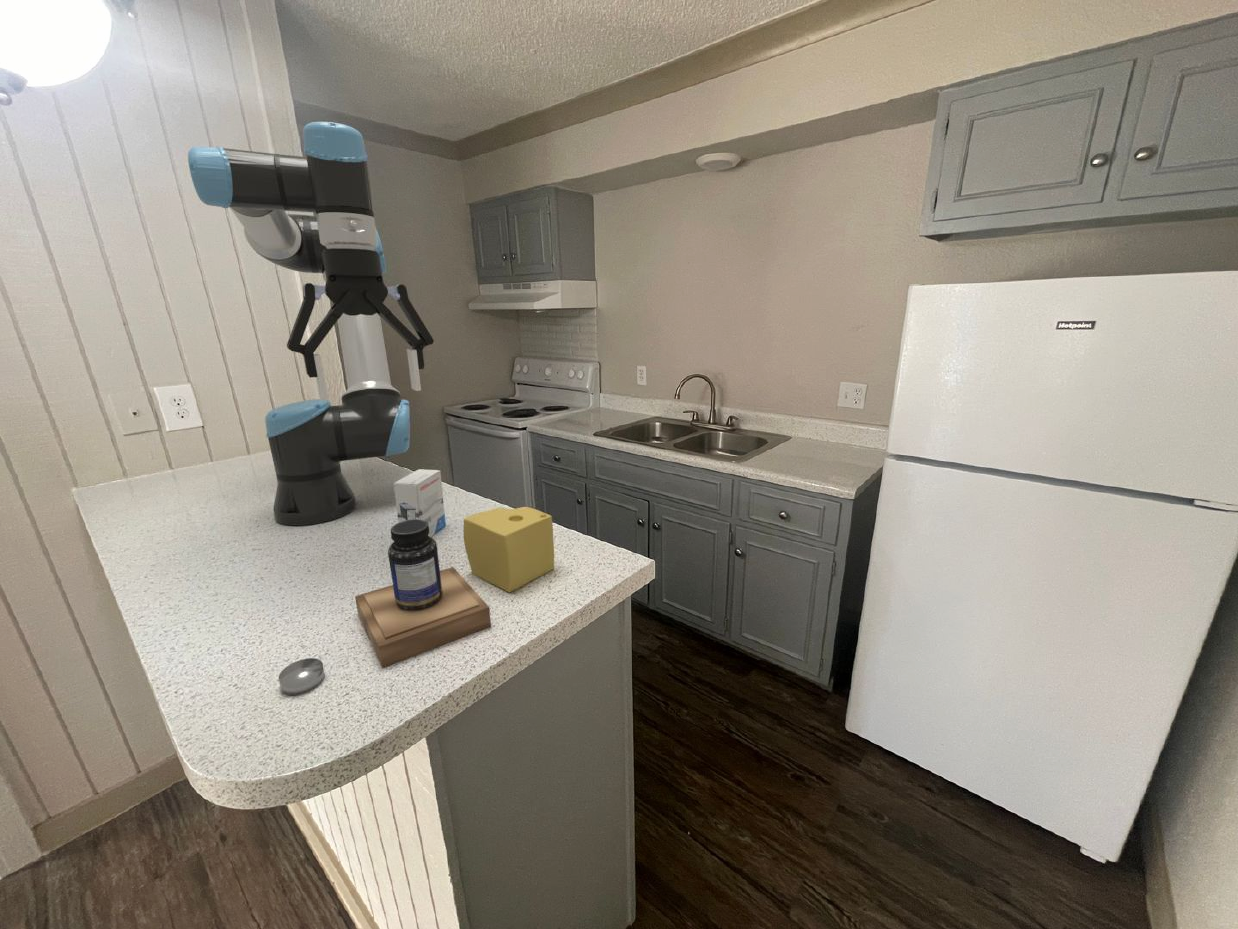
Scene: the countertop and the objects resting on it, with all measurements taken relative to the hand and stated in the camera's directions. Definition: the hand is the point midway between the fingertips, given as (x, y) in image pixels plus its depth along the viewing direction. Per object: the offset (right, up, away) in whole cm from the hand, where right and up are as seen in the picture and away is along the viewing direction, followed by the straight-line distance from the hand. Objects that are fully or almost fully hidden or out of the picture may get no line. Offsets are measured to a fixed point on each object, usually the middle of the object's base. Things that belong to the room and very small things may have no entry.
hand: (372, 394), depth 81 cm
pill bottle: (+11, -30, -10) cm, 34 cm away
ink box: (+1, -25, +18) cm, 31 cm away
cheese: (+21, -29, +4) cm, 36 cm away
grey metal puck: (+2, -37, -21) cm, 42 cm away
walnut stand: (+12, -33, -9) cm, 36 cm away
